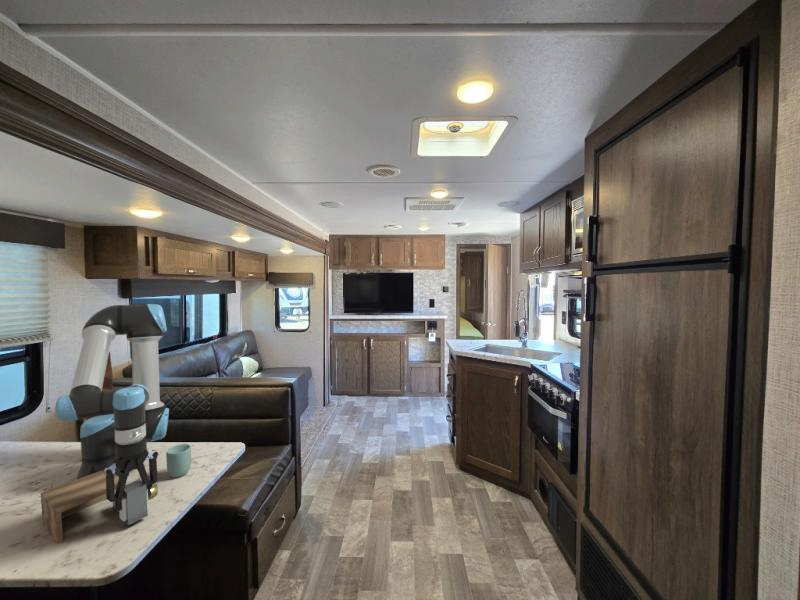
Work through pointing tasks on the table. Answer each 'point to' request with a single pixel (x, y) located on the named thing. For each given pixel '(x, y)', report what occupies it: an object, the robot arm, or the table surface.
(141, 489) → the grey toy mallet
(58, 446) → the table surface
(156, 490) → the gold metal dome
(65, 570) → the table surface
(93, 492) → the brown piece
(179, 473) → the cup
